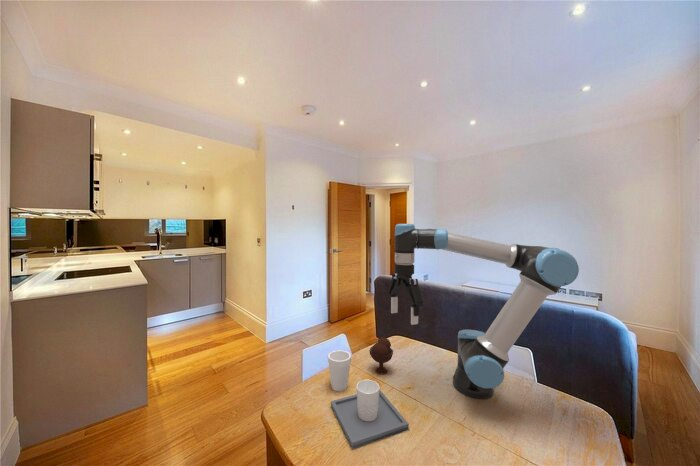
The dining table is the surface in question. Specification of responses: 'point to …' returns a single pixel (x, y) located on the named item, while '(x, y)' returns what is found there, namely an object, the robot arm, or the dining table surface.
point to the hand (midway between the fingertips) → (403, 318)
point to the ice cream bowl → (381, 354)
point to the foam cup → (339, 369)
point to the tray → (366, 431)
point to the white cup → (367, 399)
